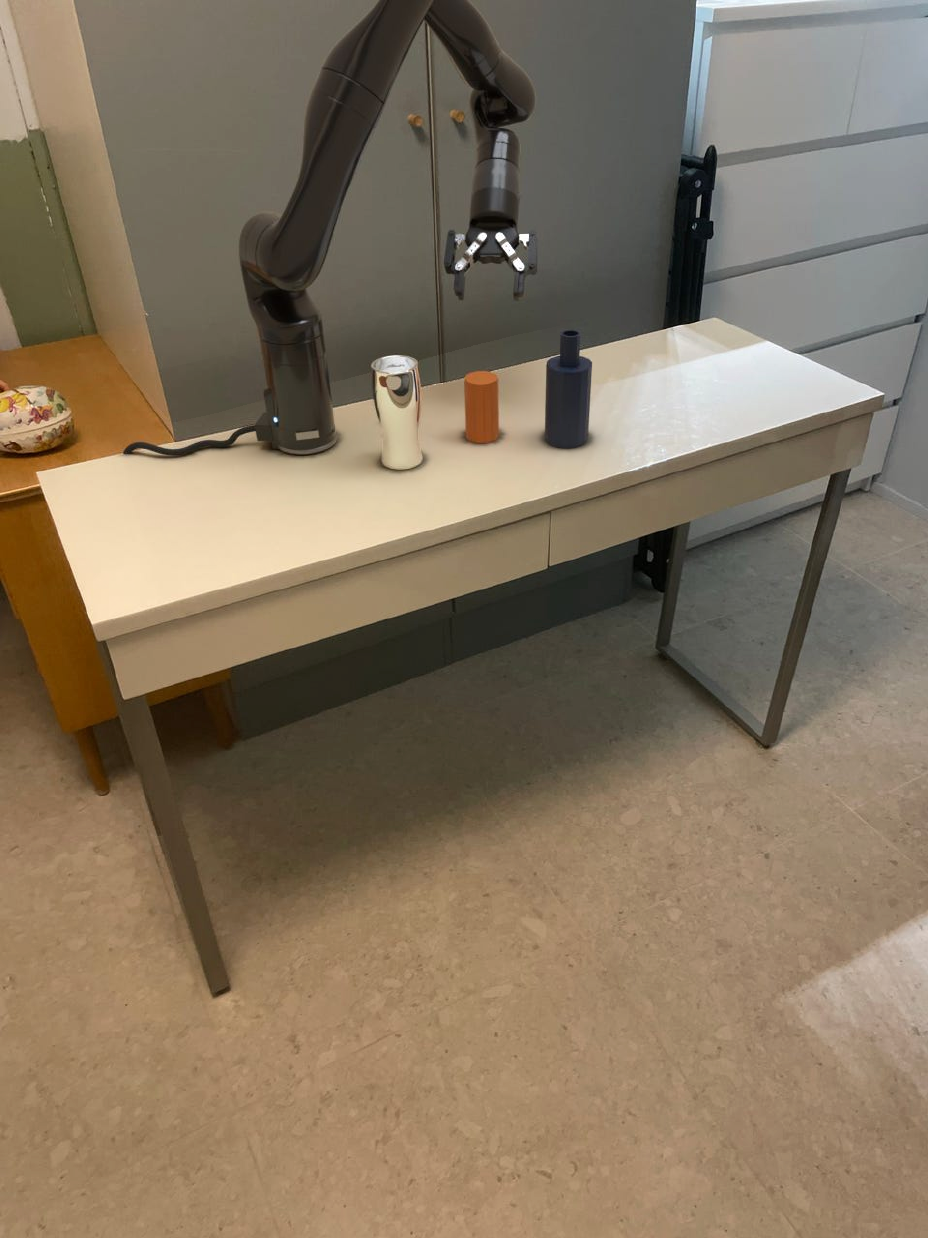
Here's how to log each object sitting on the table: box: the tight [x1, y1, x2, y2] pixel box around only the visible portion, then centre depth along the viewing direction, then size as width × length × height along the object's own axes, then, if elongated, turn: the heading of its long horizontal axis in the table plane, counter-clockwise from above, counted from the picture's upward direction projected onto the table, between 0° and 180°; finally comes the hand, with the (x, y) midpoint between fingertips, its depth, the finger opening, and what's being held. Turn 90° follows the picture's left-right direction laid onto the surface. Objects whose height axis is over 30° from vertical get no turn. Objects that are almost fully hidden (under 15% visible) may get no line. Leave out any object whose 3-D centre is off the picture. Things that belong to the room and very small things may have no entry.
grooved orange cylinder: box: [463, 370, 500, 444], centre depth 142 cm, size 5×5×10 cm
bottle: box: [544, 329, 593, 449], centre depth 138 cm, size 7×7×16 cm
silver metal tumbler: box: [370, 354, 423, 471], centre depth 135 cm, size 7×7×15 cm
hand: (488, 297), depth 143 cm, fingers open, 8 cm apart
